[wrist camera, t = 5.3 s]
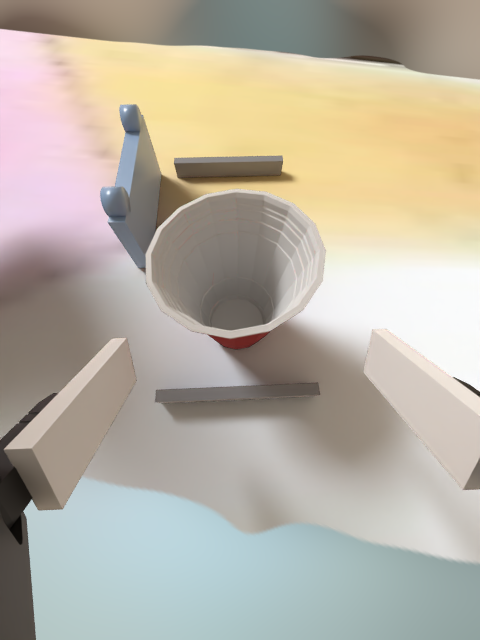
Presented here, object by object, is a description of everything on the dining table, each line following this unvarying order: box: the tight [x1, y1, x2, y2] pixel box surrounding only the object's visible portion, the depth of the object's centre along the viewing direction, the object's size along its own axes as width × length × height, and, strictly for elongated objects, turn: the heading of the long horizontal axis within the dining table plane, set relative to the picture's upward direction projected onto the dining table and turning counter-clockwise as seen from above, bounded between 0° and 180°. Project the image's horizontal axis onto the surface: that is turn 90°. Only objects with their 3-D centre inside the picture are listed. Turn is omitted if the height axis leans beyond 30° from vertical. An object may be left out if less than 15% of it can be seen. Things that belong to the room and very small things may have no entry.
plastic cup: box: [146, 189, 326, 349], centre depth 20 cm, size 11×11×12 cm
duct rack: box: [100, 105, 320, 403], centre depth 24 cm, size 18×30×9 cm, turn 3°
